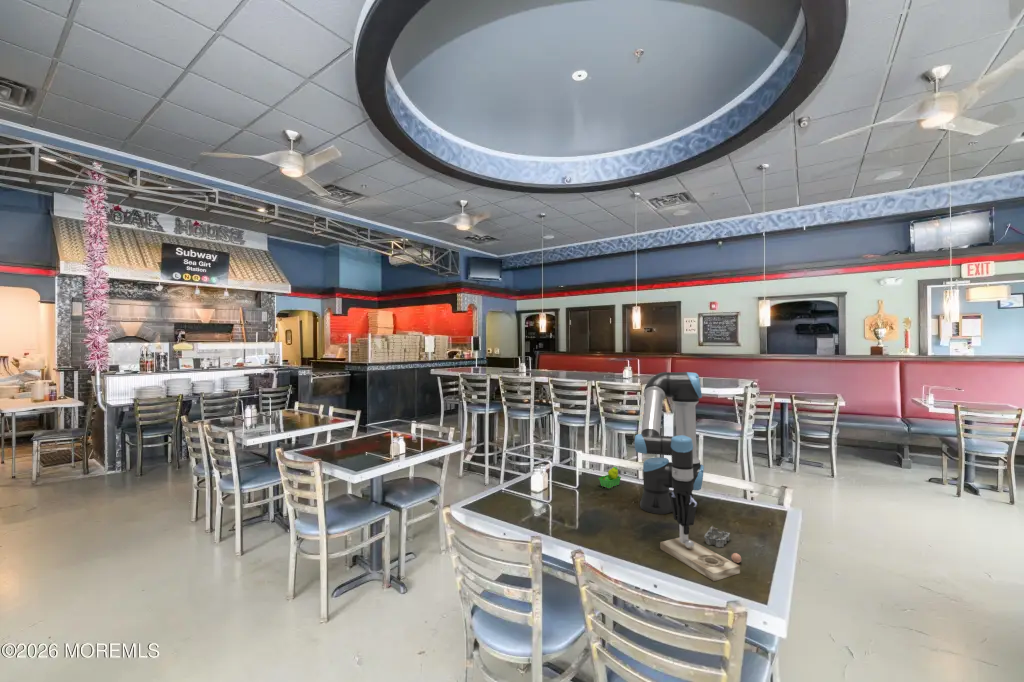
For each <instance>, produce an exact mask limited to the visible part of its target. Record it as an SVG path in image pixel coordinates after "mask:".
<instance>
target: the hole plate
mask: <svg viewBox="0 0 1024 682" xmlns="http://www.w3.org/2000/svg"><path fill="white" fill-rule="evenodd" d="M688 540H691V541H693V543H694V547H693V549H688V548H686V546H685V543H681V542H680V536H679V537H676V538H672V539H667V540H664V541H660V542H659V543H660V544H659V545H660V546H659V547H660V550H662V551H663V552H665V553H667V554H668V555H669V556H671V557H674V558H675V559H676V560H678V561H680V562H681V563H683V564H685V565H686V566H688V567H689V568H691V569H693V570H695V571H696V572H698V573H699V574H702V575H703V576H705V577H706V578H707V579H709V580H711V581H713V582H716V581H720V580H722V579H726V578H729V577H732V576H735V575H739V574H741V567H740V566H741V565H740V564H738V563H735V562H733V560H731V559H730V560H729V559H728V558H726V557H724V556H722V555H720V554H719V553H716V552H715V551H713V550H711V549H709V548H707V547H705V546H703V545H701V544H700V543H697V542H696V541H695V540H692V539H690V538H688Z"/></svg>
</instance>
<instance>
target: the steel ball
mask: <svg viewBox="0 0 1024 682" xmlns="http://www.w3.org/2000/svg"><path fill="white" fill-rule="evenodd" d="M691 540H692V539H690V540H686V541H685V546H686V548H688V549H693V547H694V543H693V541H694V540H692V541H691Z"/></svg>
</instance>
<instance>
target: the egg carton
mask: <svg viewBox="0 0 1024 682" xmlns="http://www.w3.org/2000/svg"><path fill="white" fill-rule="evenodd" d="M730 534H731V532H727V531H726V532H725V531H724V530H721V531H719V528H718V527H714V525H711V526H710V527H709V529H708V530H707V531H706V533H704V536H703V539H704V543H706V545H710V546H711V545H714V546H715V547H716V548H724V546H725V545H726V544H727V542H729V541H730Z"/></svg>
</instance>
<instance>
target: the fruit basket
mask: <svg viewBox="0 0 1024 682" xmlns="http://www.w3.org/2000/svg"><path fill="white" fill-rule="evenodd" d="M621 478H622V477H621V476H619V470H618V467H616V466H613V467H612V468H610V469H609V470H608V472H607V474H605V475H603V476H601V477H598V480H599V483H600V486H604V487H607V488H611V487H613V486H616V485H620V482H621ZM616 487H617V486H616ZM611 489H612V488H611Z"/></svg>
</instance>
